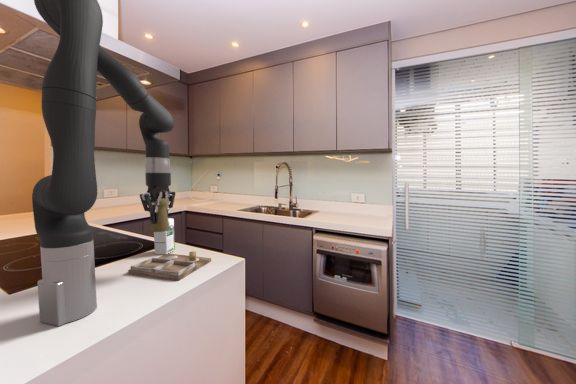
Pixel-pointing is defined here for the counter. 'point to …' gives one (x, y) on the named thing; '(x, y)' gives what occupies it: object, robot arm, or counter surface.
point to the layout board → (169, 266)
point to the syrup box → (165, 239)
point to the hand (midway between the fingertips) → (159, 222)
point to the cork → (161, 217)
